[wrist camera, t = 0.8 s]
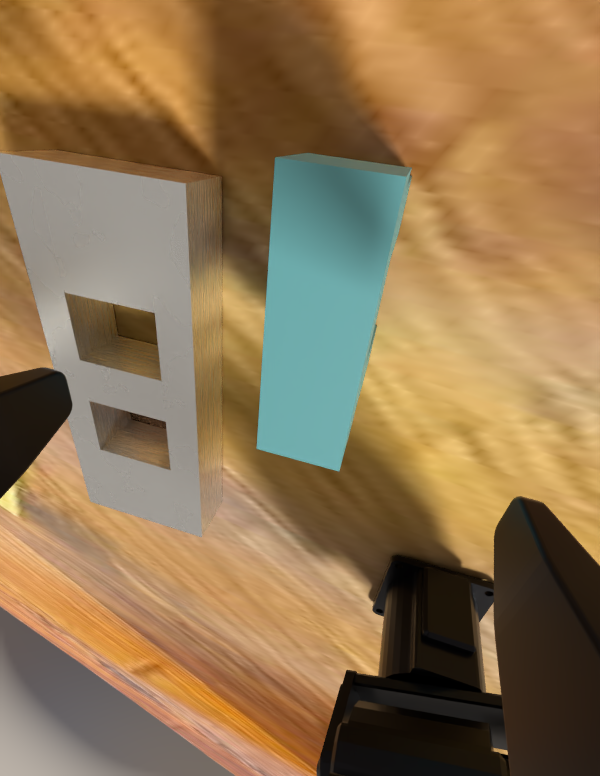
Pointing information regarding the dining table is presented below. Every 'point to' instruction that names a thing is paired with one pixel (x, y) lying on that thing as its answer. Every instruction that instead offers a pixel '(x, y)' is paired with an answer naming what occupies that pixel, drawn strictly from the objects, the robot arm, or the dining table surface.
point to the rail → (99, 330)
